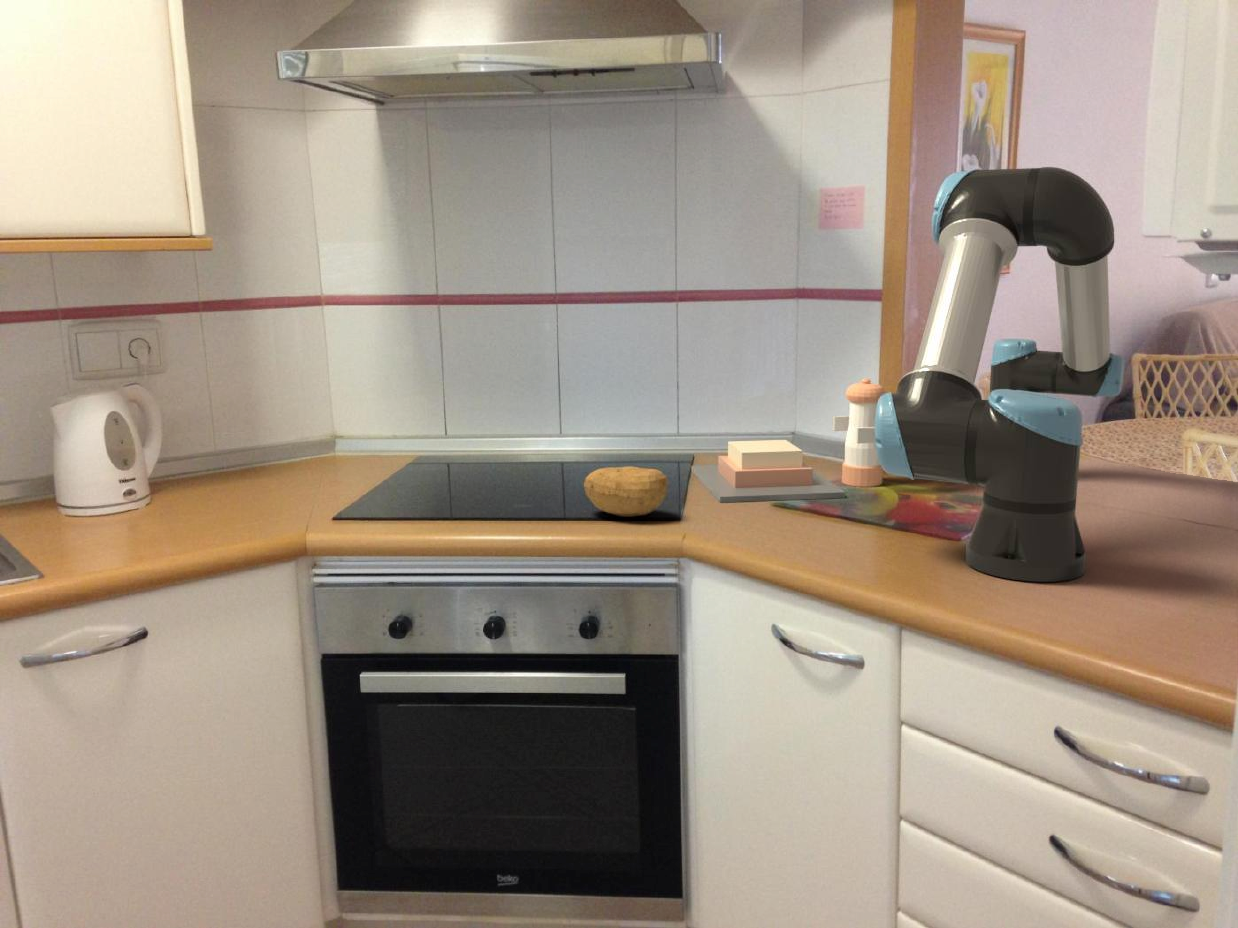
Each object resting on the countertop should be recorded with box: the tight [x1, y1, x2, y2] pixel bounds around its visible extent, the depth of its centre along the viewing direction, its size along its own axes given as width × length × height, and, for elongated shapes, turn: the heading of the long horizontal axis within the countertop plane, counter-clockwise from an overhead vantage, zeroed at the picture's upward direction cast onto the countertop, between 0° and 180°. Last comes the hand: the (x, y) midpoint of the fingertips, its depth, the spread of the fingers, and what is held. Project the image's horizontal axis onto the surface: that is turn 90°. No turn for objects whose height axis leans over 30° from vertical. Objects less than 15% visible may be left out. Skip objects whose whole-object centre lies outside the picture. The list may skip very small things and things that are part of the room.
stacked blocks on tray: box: [691, 439, 846, 504], centre depth 190 cm, size 26×22×7 cm
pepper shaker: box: [841, 378, 886, 488], centre depth 189 cm, size 7×7×19 cm
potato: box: [583, 465, 669, 518], centre depth 168 cm, size 10×14×8 cm
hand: (844, 429), depth 189 cm, fingers open, 12 cm apart
